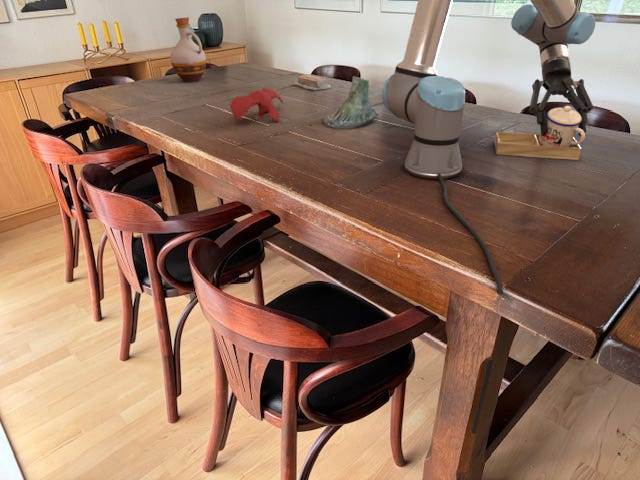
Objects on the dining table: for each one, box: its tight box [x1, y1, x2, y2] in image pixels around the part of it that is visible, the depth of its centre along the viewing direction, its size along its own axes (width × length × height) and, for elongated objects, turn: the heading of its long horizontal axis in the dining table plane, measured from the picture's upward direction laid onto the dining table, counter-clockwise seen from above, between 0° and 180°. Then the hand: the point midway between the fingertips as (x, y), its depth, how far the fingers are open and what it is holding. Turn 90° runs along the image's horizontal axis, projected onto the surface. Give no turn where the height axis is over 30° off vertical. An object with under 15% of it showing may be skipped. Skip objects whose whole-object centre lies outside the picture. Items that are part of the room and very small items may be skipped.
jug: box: [169, 17, 207, 83], centre depth 230 cm, size 20×18×30 cm
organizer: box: [494, 131, 583, 161], centre depth 134 cm, size 11×22×3 cm, turn 75°
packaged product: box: [293, 73, 331, 92], centre depth 218 cm, size 18×5×10 cm
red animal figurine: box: [229, 87, 284, 123], centre depth 168 cm, size 28×9×15 cm
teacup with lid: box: [539, 105, 586, 147], centre depth 129 cm, size 12×9×12 cm
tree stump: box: [322, 76, 379, 130], centre depth 164 cm, size 18×20×18 cm
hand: (563, 133), depth 128 cm, fingers open, 10 cm apart
